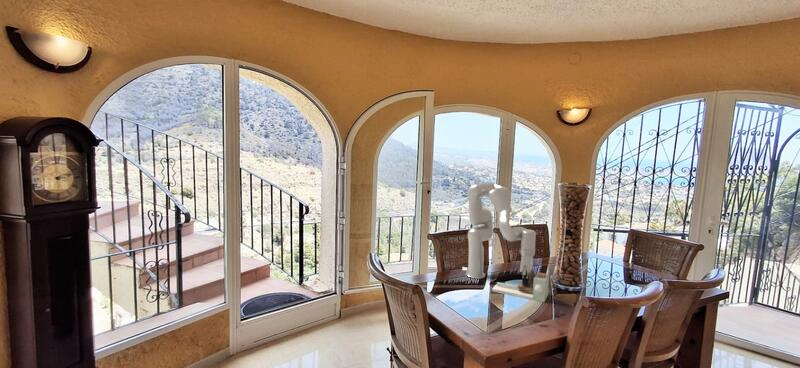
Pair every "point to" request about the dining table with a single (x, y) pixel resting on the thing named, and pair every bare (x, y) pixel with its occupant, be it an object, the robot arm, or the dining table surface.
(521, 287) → the carriage
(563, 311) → the dining table surface
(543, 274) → the button
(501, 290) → the rail base
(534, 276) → the worn brown figurine
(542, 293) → the gauge cabinet
